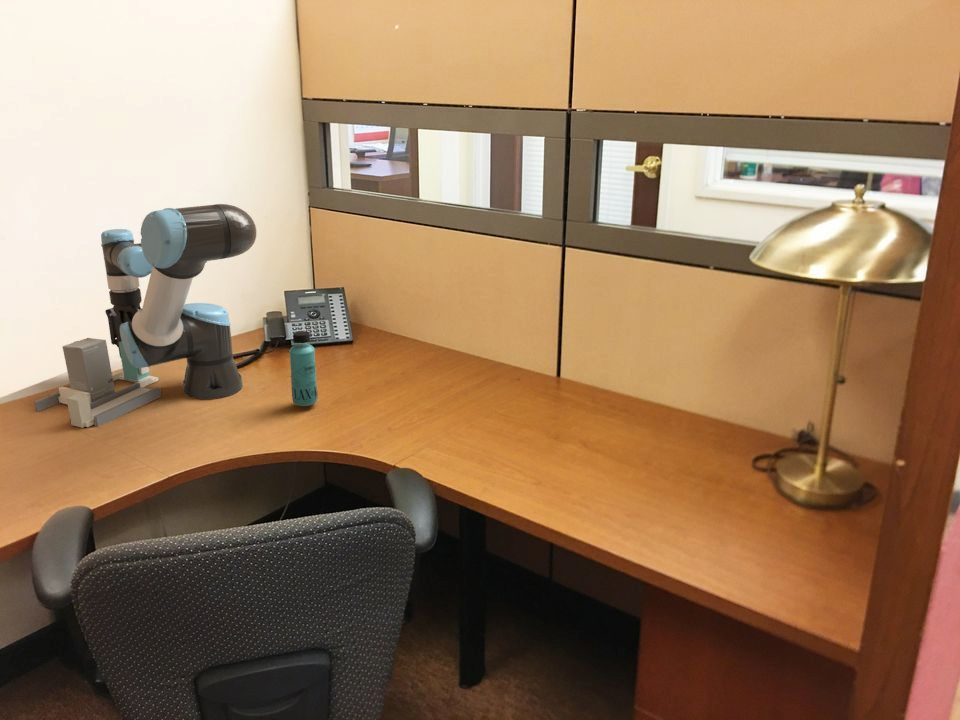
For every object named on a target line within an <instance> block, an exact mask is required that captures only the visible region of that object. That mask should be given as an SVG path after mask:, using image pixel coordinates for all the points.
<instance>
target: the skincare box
mask: <svg viewBox="0 0 960 720" xmlns="http://www.w3.org/2000/svg"><path fill="white" fill-rule="evenodd" d="M62 352H63V355H64V356H63V357H64V362H65V366H66V370H67V376H68V380H69V387H71V389H75V390H79V391H84V392H88V393H90V396H91V402H94V401H96V400H98V399H101V398H103V397H105V396H107V395H110V394H112V393H114V392H116V390H115V385H114V381H113V377H112V375H113V374H112V373H113V372H112V367H111V361H110V356H109V355H110V354H109V350H108V345H107V340H106V339H100V338H93V337H92V338H91V337H86V338H84V339H83V338H82V339H80V340H76V341H73V342H70V343H68V344H65V345H62Z"/></svg>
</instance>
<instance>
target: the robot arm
mask: <svg viewBox="0 0 960 720" xmlns="http://www.w3.org/2000/svg"><path fill="white" fill-rule="evenodd" d="M100 237H101V239H100V241H101V247H102V254H103V255H102V256H103V260H104V261H103V262H104V267H105V272H106V281H107V282H106V283H107V287H108V288H107V289H109V290H110V291H109V293H108V295H109V301H110V304H111V305H112V306H113V307H111V308H107V309H105V312H104V313H105V315H106V316H107V320H108V327H109V328H108V329H109V335H110V342H111V344H112V345H113V346H114V345H115V346H116V347H117V348H118V352H119V357H120V359H121V354H120V348H119V342H121V341H122V343H123V347H124V349H125V352H126V355H127V357H128V359H129V361H130V363H131V364H132V365H133V366H134V367H135V368H139V372H140V374H141V375H142V374H145V373H147V372H149V373H150V367H153V366H154V367H155V366H157V365H162V364H167V363H170V362H175V361H179V360H184V359H186V368H185V372H184V380H182V381H183V382H182V391H183V394H184V395H185V396H187V397H189V398H192V399H196V400H197V399H198V400H213V399H214V400H215V399H220V398H225V397H228V396H231V395H234V394H236V393H238V392H240V390H242V388H243V387H244V386H243V377H242V375H241V374H240V373H239V370H238V366H237V364H236V362H235V360H234V353H233V345H232V333H231V321H230V317H229V312H228V310H227V309H226V308H225V307H223V306H221V305H218V304H214V303H206V302H192V303H186V300H187V297H188V294H189V292H190V288H191V285H192V281H193V279H194V278H196V277H197V276H199V275H200V274H201V273H202V272H203V270H204V268H205V267H206V263H208V262H210V261H216V260H223V259H229V258H234V257H237V256H240V255H242V254H244V253H246V252H248V251H249V250H250V249H251V248H252V247H253V245H254V244H255V242H256V238H257V227H256V223H255V221H254V219H253V218H252V217H251V215H249V214H248V212H247V211H245V210H243V209H242V208H241V207H240V208H239V207H238V206H235V205H233V204H226V203H224V204H223V203H218V204H217V203H215V204H208V205H199V206H198V205H197V206H187V207H177V208H173V207H171V208H170V207H166V208H163V209H159V210H153V211H150V212H149V213H148V214H146V215H145V217H144V218H143V220H142V223H141V228H140V237H141V238H140V243H139V242H138V243H135V238H134V235H133V232H132V231H131V230H130V229H125V228H115V229H107V230H104V231H102V232H101V234H100ZM149 275H150V276H149ZM148 276H149V280H148V284H147V289H146V293H145V296H144V299H143V300H144V301H143V303H142V292H141V288H139V287H140V280H139V279H140V278H142V279H143V278H145V277H148ZM141 303H142V308H141Z"/></svg>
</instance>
